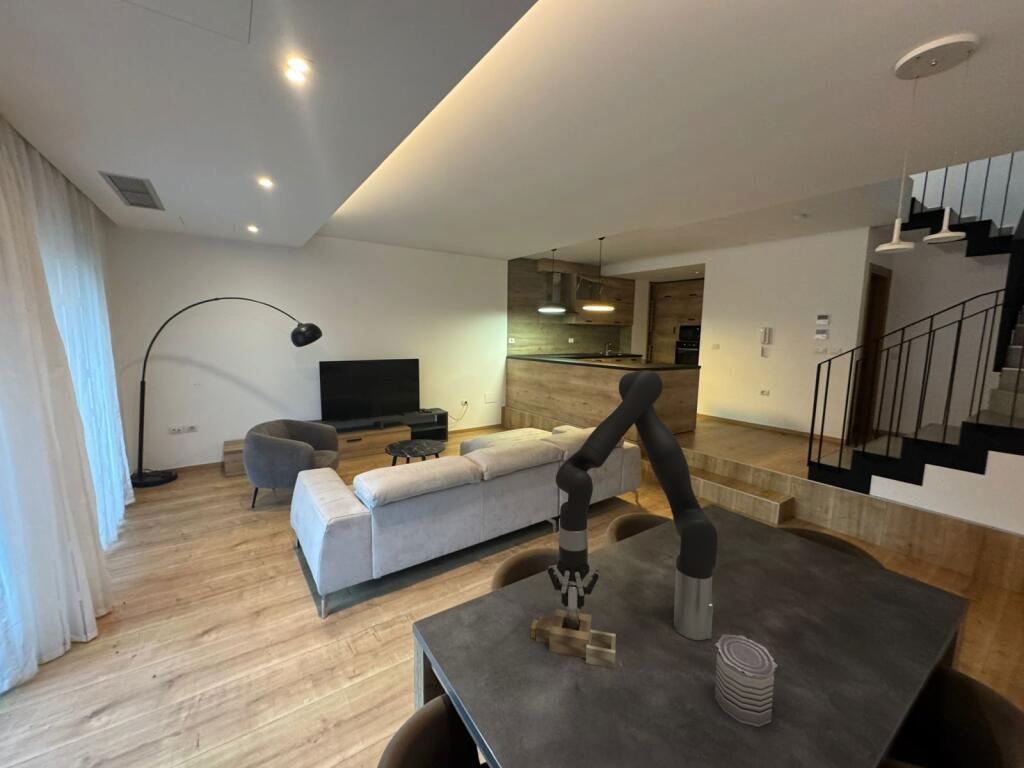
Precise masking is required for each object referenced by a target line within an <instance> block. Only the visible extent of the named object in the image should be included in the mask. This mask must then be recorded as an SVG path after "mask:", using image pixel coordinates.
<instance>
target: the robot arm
mask: <svg viewBox="0 0 1024 768" xmlns="http://www.w3.org/2000/svg"><path fill="white" fill-rule="evenodd" d="M663 386H664V385H663V381H662V378H661V376H660V374H658V373H657V372H655V371H653V370H650V369H643V370H636V371H631V372H628V373H626V374H624V375H623V376H622V377H621V378H620V380H619V383H618V392H619V397H620V398H621V400H622V401H621V402H620V404H618V406H617V407H616V408H615V410H614V411H612V412H611V413H610V414H609V416H606V418H605V419H604V420H603V421H602V422H601V423H600V424H598V425H597V427H595V428H594V429H593V431H592V432H591V433H590V434H589V436H588V437H587V439H586V440H585V441H584V443H583V444H582V445H581V447H580V448H579V449H578V450H577V451H576V452H574V454H571V455H570V457H569V458H568V459H566V460H565V461H564V462H563V463H562V465H560V467H559V469H558V470H557V472H556V475H555V483H556V485H557V487H558V488H559V489H560V490H562V491H563V492H565V493H566V494H567V501H564V502H563V503H562V504H561V505H560V508H559V530H558V561H557V564H554V565H553V564H552V563H551V564H549V565H548V569H547V574H548V575H549V578H550V580H551V584H552V585H553V588H554V590H555V591H560V592H561V604H562V605H563V606H564V607H566V608H567V584H568V582H571V581H573V582H576V583H577V586H578V590H579V610H582V608H583V607H584V606H585V595H587V596H588V595H589V596H590V595H591V594H592V592H593V590H594V588H595V586H596V585H597V584H596V583H597V582H598V580H599V575H600V571H599V570H597V569H595V570H594V569H592V568H590V565H589V561H588V559H589V533H588V511H589V507H590V504H591V500H592V495H593V490H594V484H593V479H592V477H591V475H590V474H589V473H588V471H589V470H592V469H600V468H601V467H602V466H603V465H604V463H605V462H606V460H607V459H608V457H609V456H610V455H611V453H612V452H613V451H614V449H616V446H617V445H618V444H619V443H620V441H621V440H622V438H623V437H624V436H625V435H626V433H628V431H629V430H630V429H631V428H632V426H633V425H635V428H636V430H637V432H638V435H639V438H640V441H641V443H642V445H643V448H644V450H645V453H646V457H647V459H648V461H649V465H650V466H651V469H652V471H653V473H654V475H655V478H656V480H657V482H658V483H659V485H660V487H661V489H662V490H663V492H664V495H665V496H666V498H667V501H668V502H667V503H669V507H670V510H671V511H670V512H671V514H672V519H673V521H674V527H675V529H676V530H675V531H676V532H677V534H678V536H679V537H680V548H679V549H680V550H679V554H678V555H677V557H676V559H675V561H676V564H675V580H674V581H675V582H674V583H675V584H674V585H675V587H674V608H673V628H674V629H675V631H676V632H677V633H678V634H679V635H681V636H683V637H685V638H687V639H690V640H695V641H703V640H708V639H709V640H712V631H713V616H714V615H713V613H714V606H713V602H712V592H713V591H712V590H713V589H712V587H713V575H714V574H713V572H714V569H715V566H716V563H717V555H718V554H717V553H718V544H719V543H718V541H719V540H718V538H719V537H718V531H717V528H716V526H715V524H714V523H713V522H712V521H711V520H710V519H709V517H708V516H707V515H706V513H705V512H704V510H703V508H702V507H701V506H700V505H701V504H700V503H699V501H698V498H697V497H696V495H695V492H694V490H693V487H692V481H691V474H690V469H689V465H688V462H687V459H686V456H685V454H684V452H683V449H682V446H681V445H680V443H679V440H677V439H678V438H677V437H676V436H675V435H674V434H673V433H672V431H671V430H670V428H668V426H667V425H666V424H665V423H664V422H663V421H662V420H661V418H660V416H659V415H658V414H657V412H656V409H655V406H654V403H655V402H656V401H658V399H659V398H660V397H661V394H662V393H663V390H664V389H663ZM558 572H559V573H560V575H561V576H562V577H563V578H562V579H563V581H562V583H561V581H560V579H559V577H558V574H557V573H558ZM588 574H589V582H588V583H587V586H585V585H584V584H585V583H584V579H585V577H586V576H587V575H588Z"/></svg>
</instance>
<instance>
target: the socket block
mask: <svg viewBox="0 0 1024 768" xmlns="http://www.w3.org/2000/svg"><path fill="white" fill-rule="evenodd" d="M592 618H593V617H592V615H591V614H586V613H580V612H579V630H578V631H577V630H571V629H567V610H565V609H564V610H562V609H558V608H555V610H554V614H553V617H548V616H543V615H542V616H541V615H540V616H538V619H537V620H538V623H537V627H536V637H535V642H537V643H543V644H548V651H549V652H552V653H557V654H558V653H559V654H562V655H568V656H572V657H573V656H574V657H578V658H582V659H583V658H584V659H586V645H587V644H589V637H590V629H591V630H592Z"/></svg>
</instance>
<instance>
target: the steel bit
mask: <svg viewBox="0 0 1024 768" xmlns="http://www.w3.org/2000/svg"><path fill="white" fill-rule="evenodd" d="M566 611H567V629H571V630H577V631H578V630H579V613H580V609H579V590H578V586H577V583H576V582H573V581H571V582H569V581H568V584H567V607H566Z"/></svg>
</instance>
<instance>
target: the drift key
mask: <svg viewBox="0 0 1024 768" xmlns="http://www.w3.org/2000/svg"><path fill="white" fill-rule="evenodd" d="M538 620H539V619H533V621H532V624H531V626H530V638H531V639H536V627H537V623H538Z"/></svg>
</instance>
